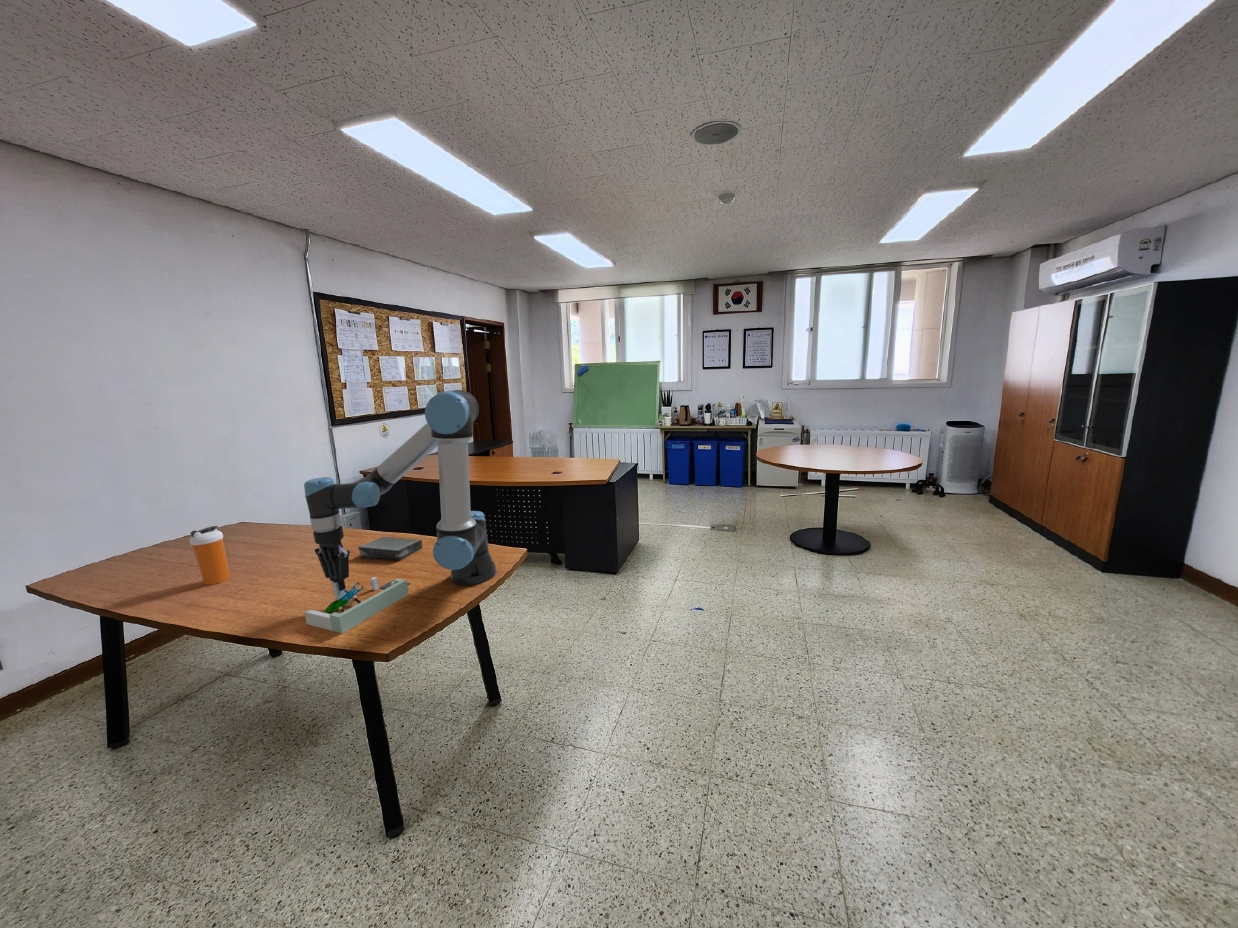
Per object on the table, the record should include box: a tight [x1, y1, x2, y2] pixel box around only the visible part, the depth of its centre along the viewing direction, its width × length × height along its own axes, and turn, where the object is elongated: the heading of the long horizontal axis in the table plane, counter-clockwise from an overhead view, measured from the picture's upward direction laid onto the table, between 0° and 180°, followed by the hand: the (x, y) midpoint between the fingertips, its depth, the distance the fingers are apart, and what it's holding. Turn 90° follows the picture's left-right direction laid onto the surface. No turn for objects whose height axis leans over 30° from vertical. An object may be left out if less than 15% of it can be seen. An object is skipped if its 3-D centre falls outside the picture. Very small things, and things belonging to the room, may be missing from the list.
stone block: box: [357, 536, 423, 562], centre depth 179 cm, size 14×20×5 cm
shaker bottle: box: [188, 525, 231, 586], centre depth 159 cm, size 9×9×20 cm
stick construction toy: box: [324, 581, 365, 614], centre depth 137 cm, size 12×7×8 cm
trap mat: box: [379, 579, 411, 590], centre depth 150 cm, size 8×6×1 cm
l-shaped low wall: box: [304, 576, 394, 632], centre depth 136 cm, size 11×23×4 cm, turn 158°
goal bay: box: [329, 578, 410, 634], centre depth 133 cm, size 4×23×5 cm, turn 158°
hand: (341, 598), depth 139 cm, fingers closed
